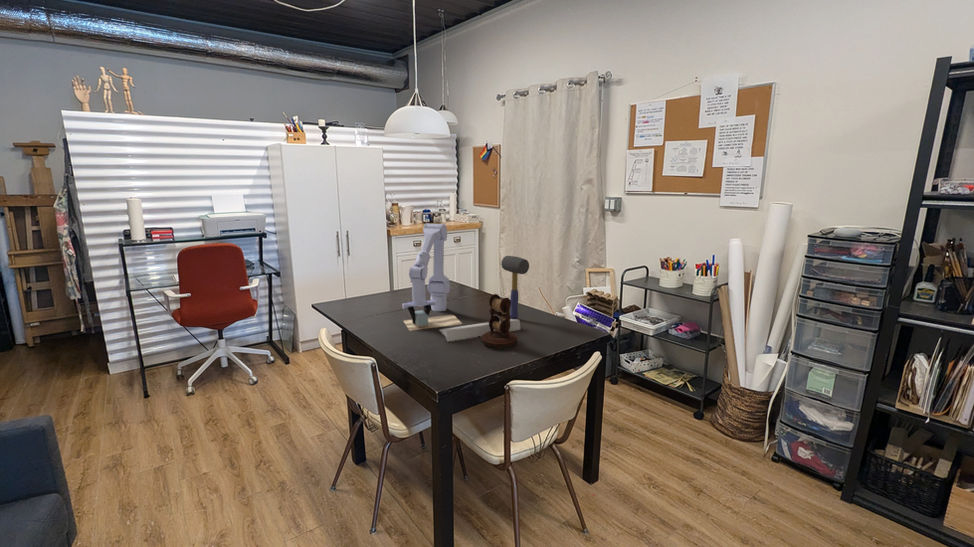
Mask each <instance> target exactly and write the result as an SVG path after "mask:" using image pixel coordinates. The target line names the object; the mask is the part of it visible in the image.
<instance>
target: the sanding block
mask: <svg viewBox="0 0 974 547" xmlns="http://www.w3.org/2000/svg"><path fill="white" fill-rule="evenodd" d="M428 318H429V315H427V314H426V313H425V312H424V310H423V309H421V310H415V325H416V326H417V327H418V328H419V327H425V326H428Z"/></svg>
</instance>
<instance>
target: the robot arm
mask: <svg viewBox="0 0 974 547" xmlns="http://www.w3.org/2000/svg"><path fill="white" fill-rule="evenodd" d="M422 229H423V230H422V232H423V237H424V239H423V241H422V242H423V243H422V247H421V250H420V251H419V252H418V253H417V255H416V257H415V259H414V264H413V265H412V266H411V267H410V268H409V271H408V272H409V273H408V275H409V278H410V283H411V294H412V296H411V297H412V299H411V300H412V301H409V302H404V303H402V304H401V305H402V309H403V310H405V309H407V311H408V312H409V315H410V317H411V319H412V322H413V324H415V311H416V310H415V308H419V307H423V311H424V312H425V313H426V314H427V315H428V316H429V315H430V312H431V310H432V311H434V312H444V311H447V295H449V293H450V290H451V284H450V279H449V277H447V276H446V275H445V274H444V272H445V271H444V267H445V266H444V263H445V262H444V260H445V258H444V256H445V241H447V240H448V239H447V238H448V228H447V226H446V224H445V223H428V222H425V223H424V225H423V227H422ZM432 247H433V261H432V262H433V263H432V264H433V265H432V266H433V268H432V269H433V270H432V272H433V273H432V274H433V275H431V276H430V277H429V278H428V283H427V291H428V293H429V294H430V300H426V298H427V297H426V279H427V277H428V270H429V268H428V265H429V262H430V259H431V255H430V252H431V250H432Z"/></svg>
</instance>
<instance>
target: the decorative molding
mask: <svg viewBox="0 0 974 547" xmlns="http://www.w3.org/2000/svg"><path fill="white" fill-rule="evenodd" d="M521 329H522V328H521V322H520V319H511V318H510V330H509V332H510V331H511V332H515V331H516V330H517V331H521ZM494 330H495V329H494ZM494 330H493V331H494ZM438 331H439V332H440V333H441V334H442V335H443V336H444V340H445V341H446V342H447V343H448V342H449V341H450V342H454V341H455V340H456V341H461V339H462V340H466V339H467V338H468V339H473V337H474V338H478V336H480V337H481V336H482V335H483V334H485V333H487V332H489V331H491V330H490V327H489V321H487V322H480V323H475V324H467V325H461V326H455V327H454V326H453V327H449V328H440V329H439V330H438ZM468 339H467V340H468Z"/></svg>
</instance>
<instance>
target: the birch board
mask: <svg viewBox="0 0 974 547" xmlns="http://www.w3.org/2000/svg"><path fill="white" fill-rule="evenodd" d="M402 321H403V323H404V324H405V326H406V327H407V329H408V331H411V332H412V331H418V330H425V329H426V330H427V329H434V328H443V327H450V326H451V327H452V326H459V325H463V322H462V321H460V320H459V318H457V317H456V316H455V314H449V315H448V314H447V315H439V316H438V315H437V316H432V317H429V316H428V326H425V327H419V328H418V327H417V326H416V325H415V324H413V322H412V318H411V319H404V320H403V319H402Z"/></svg>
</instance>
